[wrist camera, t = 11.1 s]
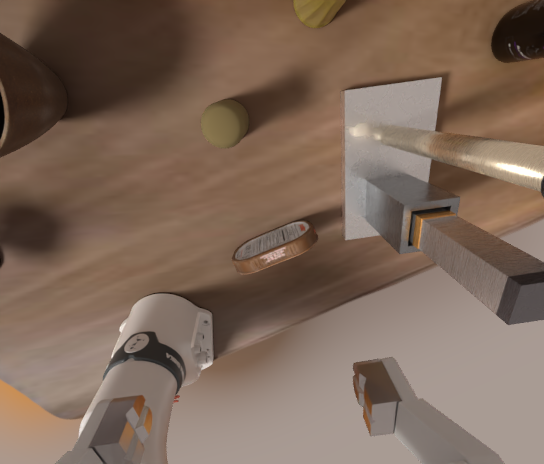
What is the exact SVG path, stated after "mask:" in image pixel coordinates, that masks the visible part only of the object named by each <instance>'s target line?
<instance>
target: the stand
mask: <svg viewBox="0 0 544 464" xmlns="http://www.w3.org/2000/svg"><path fill="white" fill-rule="evenodd" d="M441 82H442V77H439V78H432V79H425V80H417V81H410V82H403V83H396V84H388V85H381V86H374V87H367V88H359V89H352V90H345V91H340V98H341V184H342V236H343V237H344V239H345V240H350V239H357V238H364V237H371V236H378V235H381V236H382V237H383V238H384V239H385V240H386V241H387V242H388V243H389V244H390V245H391V246H392V247H393V248H394V249H395V250H396V251H397V252H398V253H399V254H403V253H410V252H417V251H421V250H420V249H417V248H416V247H415V246H413V245H412V244H413V243H412V242H410V241H409V240H408V239H409V230H410V221H411V212H412V211H419V210H426V209H433V208H440V207H441V208H443V209H445V210H447V211H448V210H450V211H452V212H453V213H455V214H456V216H457V212H458V207H459V202H460V197H459V196H457V195H454V194H452V193H450V192H448V191H445V190H443V189H441V188H438V187H436V186H434V185H432V184H429V183H428V180H429V173H430V165H431V159H433V160H436V161H439V162H443V163H446V164H450V165H453V166H456V167H460V168H463V169H466V170H470V171H473V172H476V173H480V174H483V175H487V176H490V177H493V178H497V179H500V180H503V181H507V182H510V183H513V184H517V185H520V186H524V187H527V188H530V189H534V190H537V191H540V192H541V193H542V196H543V197H544V146H539V145H532V144H525V143H518V142H510V141H503V140H496V139H489V138H482V137H474V136H467V135H460V134H453V133H446V132H438V131H435V127H436V120H437V112H438V105H439V97H440V90H441Z"/></svg>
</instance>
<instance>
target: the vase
mask: <svg viewBox="0 0 544 464" xmlns="http://www.w3.org/2000/svg"><path fill="white" fill-rule="evenodd" d="M293 1H294V8H295V12H296V14H297V16H298V18H299V19H300V20H301V21H302V22H303V23H304V24H305V25H306V26H308V27H311V28H320V27H323V26H325V25H327V24H328V23H329V22H330V21H331V20H332V19H333V18H334V17H335V15H336V13H337V11H338V10H339V9H340V8H341V7H342V5H343V4H344V3H345V1H346V0H293Z"/></svg>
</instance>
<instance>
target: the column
mask: <svg viewBox="0 0 544 464" xmlns="http://www.w3.org/2000/svg"><path fill="white" fill-rule="evenodd" d="M408 240H409V241H410V242H412V243H413V244H412V245H413V246H415V247H416V248H417V249H420V250H421V251H422V252H423V253H424V254H426V255H427V256H428V257H429V258H430V259H432V260H433V261H434V262H435V263H436V264H437V265H439V266H440V267H441V268H442V269H443V270H445V271H446V272H447V273H448V274H449V275H450V276H451V277H453V278H454V279H455V280H456V281H457V282H459V283H460V284H461V285H462V286H463V287H464V288H466V289H467V290H468V291H469V292H470V293H471V294H473V295H474V296H475V297H476V298H477V299H478V300H480V301H481V302H482V303H483V304H484V305H485V306H487V307H488V308H489V309H490V310H491V311H492V312H494V313H495V314H496V315H497V316H498V317H499V318H501V319H502V320H503V321H505V323H506V324H508V325H511V324H516V323H524V322H531V321H537V320H544V262H542V261H540V260H538V259H537V258H535V257H533V256H531V255H529V254H527V253H525V252H523V251H522V250H520V249H518V248H516V247H514V246H512V245H511V244H509V243H507V242H505V241H503V240H501V239H499V238H497V237H496V236H494V235H492V234H490V233H488V232H486V231H484V230H483V229H481V228H479V227H477V226H475V225H473V224H471V223H469V222H468V221H466V220H464V219H462V218H460V217H458V216H456V214H455V213H453V212H452V211H450V210H448V211H447V210H445V209H443V208H441V207H440V208H433V209H426V210H419V211H412V212H411V221H410V230H409V239H408Z"/></svg>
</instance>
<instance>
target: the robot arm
mask: <svg viewBox="0 0 544 464" xmlns="http://www.w3.org/2000/svg"><path fill="white" fill-rule="evenodd" d="M205 320H206V321H205ZM119 330H120V332H121V334H120V337H119V339H118V341H117V344H116V346H115V348H114V351H113V353H112V359H111V361H109V363H108V365H107V367H106V371H105V373H104V376H103V382H102V384H101V386H100V388H99V390H98V392H97V393H96V395H95V397H94V399H93V401H92V403H91V405H90V406H89V408H88V410H87V412H86V414H85V416H84V418H83V419H82V422H81V425H80V430H79V438H78V440H77V442H76V444H75V446H74V448H73V450H72V451H68V452H67V453H66V454H65V455H64V456H63V457H62V458H61V459H60V460H58V462H56V463H55V464H168V461H167V453H166V452H167V451H166V442H167V433H168V427H169V421H170V416H171V411H172V407H173V403H174V402H178V400H174V399H176V398H179V397H180V396H178V395H177V396H176V394H177V393H178V391H179V389H180V388H181V387H182V386H185V385H188V384H191V383H193V382H195V381H196V380H197V379H198V378H199V375H200V372H201V370H203V369H205V368H207V367H209V366H210V365H211V364H212V363H213V359H214V354H213V323H212V313H211V312H210V311H208V310H205V309H202V308H198V307H197V306H195V305H194V304H192V303H191V302H190V301H188V300H186V299H184V298H182V297H180V296H177V295H173V294H153V295H149V296H146V297H144V298H142V299H141V300H139V301H138V302H137V303H136V304H135V305H134V306H133V308H132V310H131V313H130V315H129V317H128V318H127V319H126V320H125V321H124V322H123V323H122V324H121V326H120V329H119ZM353 371H354V373H355V375H354V376H353V385H354V391H355V394H356V398H357V400H358V403H359V405H361V406H362V407H363V417H364V420H365V423H366V426H367V428H368V431H369V434H370V436H377V435H385V434H393V433H394V435H395V436H396V437H397V438H398V439H399V440H400V441H401V442H402V443H403V444H404V446H405V447H406V448H407V449H408V450H409V451H410V452H411V453H412V454H413V455H414V456H415V457H416V458H417V459H418V460H419V461H420V462H421V463H422V464H504V462H503V461H502V459H501V458H500V457H499V455H498V454H496V453H495V452H494V451H493V450H491V449H490V448H489V447H487V446H486V445H485V444H483V443H482V442H481V441H479V440H478V439H476V438H475V437H474V436H472V435H471V434H469V433H468V432H467V431H466V430H464V429H463V428H462V427H460V426H459V425H457V424H456V423H454V422H453V421H452V420H451V419H449V418H448V417H447V416H445V415H444V414H443V413H441V412H440V411H438V410H437V409H436V408H434V407H433V406H431V405H430V404H429V403H428V402H426V401H425V400H423V399H418V398H417V396H416V395H415V393H414V391H413V390H412V388H411V386H410V384H409V382H408V381H407V379H406V377H405V376H404V374H403V372H402V370H401V368H400V367H399V365H398V363H397V362H396V360H395V359H394V358H393V357H389V358H384V359H374V360H368V361H362V362H356V363H354V364H353Z"/></svg>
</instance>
